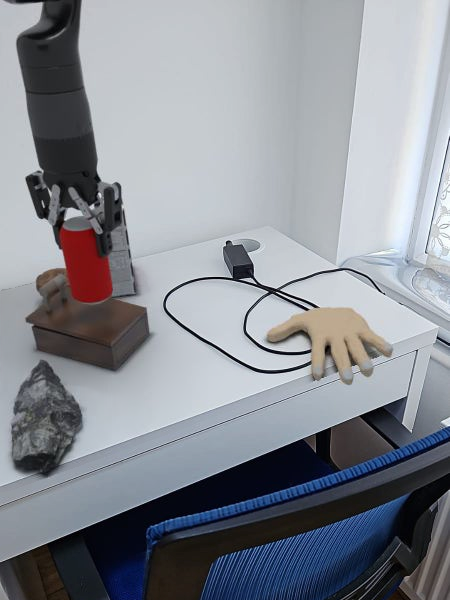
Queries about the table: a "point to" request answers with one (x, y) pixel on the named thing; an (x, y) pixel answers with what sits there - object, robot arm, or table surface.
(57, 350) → the brown wooden box
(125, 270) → the candy bar box
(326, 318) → the hand model
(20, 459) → the rock
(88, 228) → the beverage can
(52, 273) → the artifact
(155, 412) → the table surface
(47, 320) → the cover
